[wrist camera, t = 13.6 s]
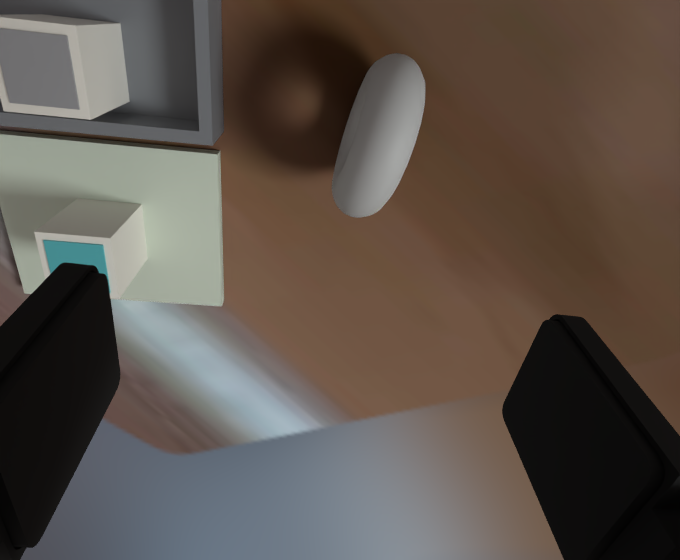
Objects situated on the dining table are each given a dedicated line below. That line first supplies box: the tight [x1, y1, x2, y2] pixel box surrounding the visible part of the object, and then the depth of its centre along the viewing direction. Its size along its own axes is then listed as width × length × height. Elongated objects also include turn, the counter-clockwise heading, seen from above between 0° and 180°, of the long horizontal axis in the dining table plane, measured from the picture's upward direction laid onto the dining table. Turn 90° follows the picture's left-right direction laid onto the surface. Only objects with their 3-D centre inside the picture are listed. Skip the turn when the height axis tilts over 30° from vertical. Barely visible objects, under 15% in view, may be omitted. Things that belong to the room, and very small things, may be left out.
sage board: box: [0, 130, 224, 306], centre depth 36 cm, size 13×16×1 cm
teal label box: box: [34, 198, 148, 299], centre depth 33 cm, size 5×5×6 cm
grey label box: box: [0, 14, 130, 120], centre depth 27 cm, size 5×5×6 cm
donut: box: [332, 53, 425, 218], centre depth 29 cm, size 10×4×10 cm, turn 162°
